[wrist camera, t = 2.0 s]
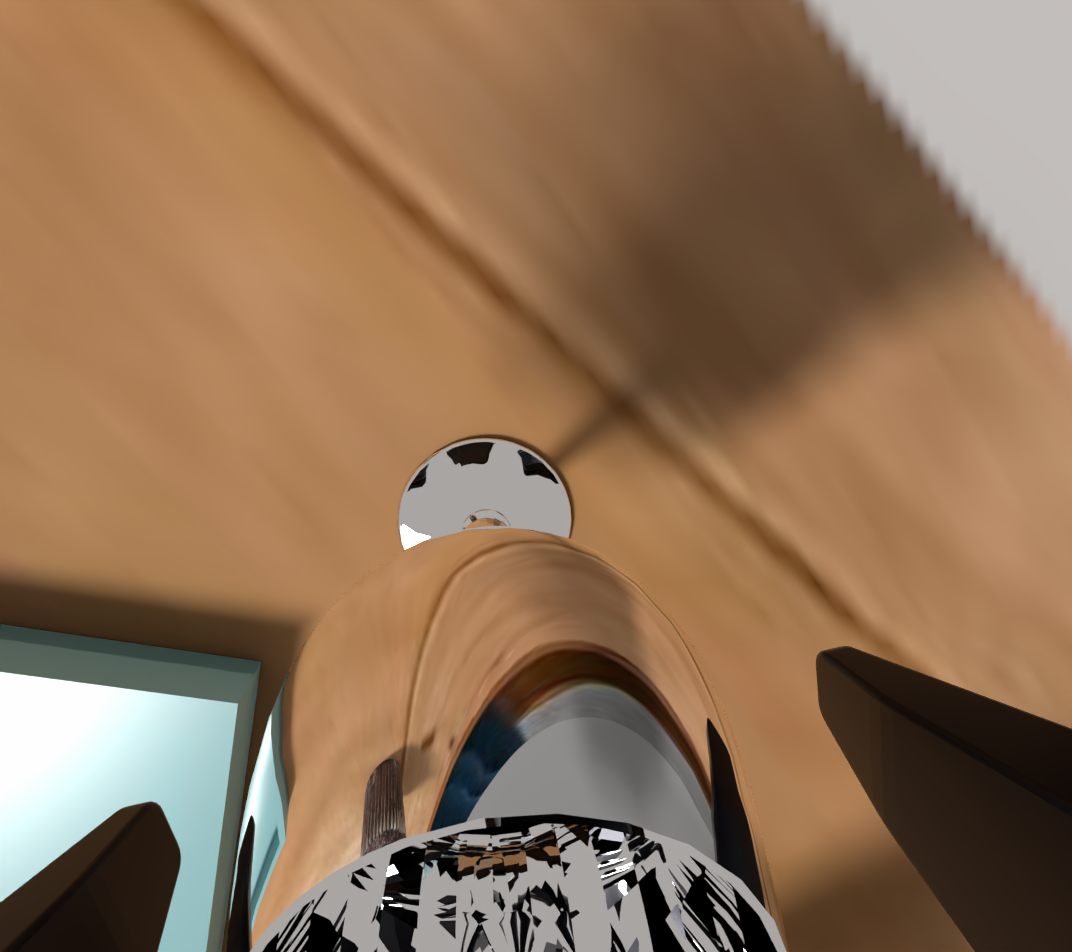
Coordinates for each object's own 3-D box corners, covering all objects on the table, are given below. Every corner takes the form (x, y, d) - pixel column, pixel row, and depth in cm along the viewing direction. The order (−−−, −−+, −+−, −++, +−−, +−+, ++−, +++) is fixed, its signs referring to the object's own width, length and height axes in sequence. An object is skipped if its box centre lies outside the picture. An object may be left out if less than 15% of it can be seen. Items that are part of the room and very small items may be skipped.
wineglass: (553, 377, 16) (769, 627, 4) (624, 577, 18) (912, 1133, 6) (332, 460, 16) (-29, 925, 4) (424, 651, 18) (337, 1342, 6)
